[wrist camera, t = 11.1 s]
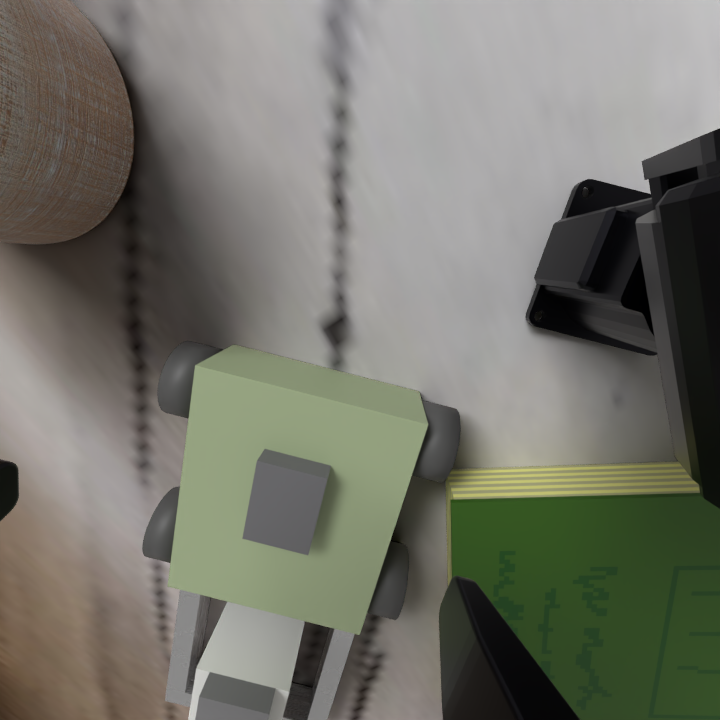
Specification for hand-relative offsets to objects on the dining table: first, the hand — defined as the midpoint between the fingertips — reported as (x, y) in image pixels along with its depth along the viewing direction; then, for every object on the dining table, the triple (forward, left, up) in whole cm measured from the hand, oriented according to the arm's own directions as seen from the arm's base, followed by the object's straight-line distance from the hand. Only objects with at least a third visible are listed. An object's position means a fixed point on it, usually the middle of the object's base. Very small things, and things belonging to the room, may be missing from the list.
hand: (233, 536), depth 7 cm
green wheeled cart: (0, +6, -12) cm, 13 cm away
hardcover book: (-22, +9, -13) cm, 27 cm away
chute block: (0, +17, -12) cm, 21 cm away
